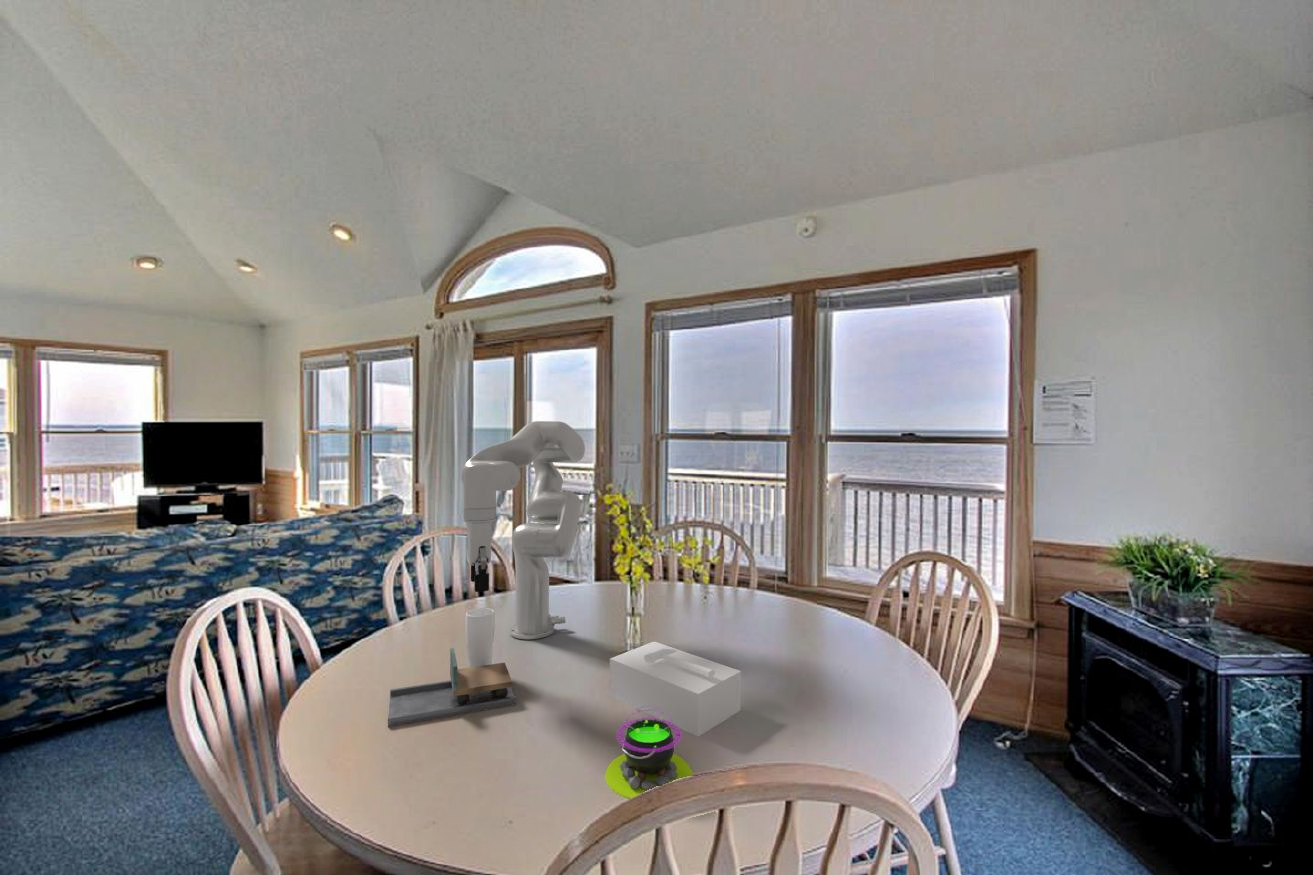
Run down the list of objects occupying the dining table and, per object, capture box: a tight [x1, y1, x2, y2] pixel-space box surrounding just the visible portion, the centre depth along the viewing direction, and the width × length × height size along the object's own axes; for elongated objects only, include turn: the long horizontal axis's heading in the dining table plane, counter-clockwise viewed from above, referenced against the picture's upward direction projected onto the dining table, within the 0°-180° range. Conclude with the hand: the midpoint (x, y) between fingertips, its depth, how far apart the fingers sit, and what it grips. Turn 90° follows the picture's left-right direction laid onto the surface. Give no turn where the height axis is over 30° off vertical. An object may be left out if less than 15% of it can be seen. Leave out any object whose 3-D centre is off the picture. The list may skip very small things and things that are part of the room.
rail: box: [387, 679, 517, 728], centre depth 127 cm, size 25×14×2 cm, turn 113°
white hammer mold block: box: [609, 641, 742, 737], centre depth 127 cm, size 14×25×11 cm, turn 48°
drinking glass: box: [464, 607, 496, 668], centre depth 141 cm, size 7×7×15 cm
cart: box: [449, 647, 513, 705], centre depth 129 cm, size 12×11×9 cm
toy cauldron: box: [604, 705, 693, 800], centre depth 101 cm, size 15×15×11 cm
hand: (479, 585), depth 140 cm, fingers open, 9 cm apart
